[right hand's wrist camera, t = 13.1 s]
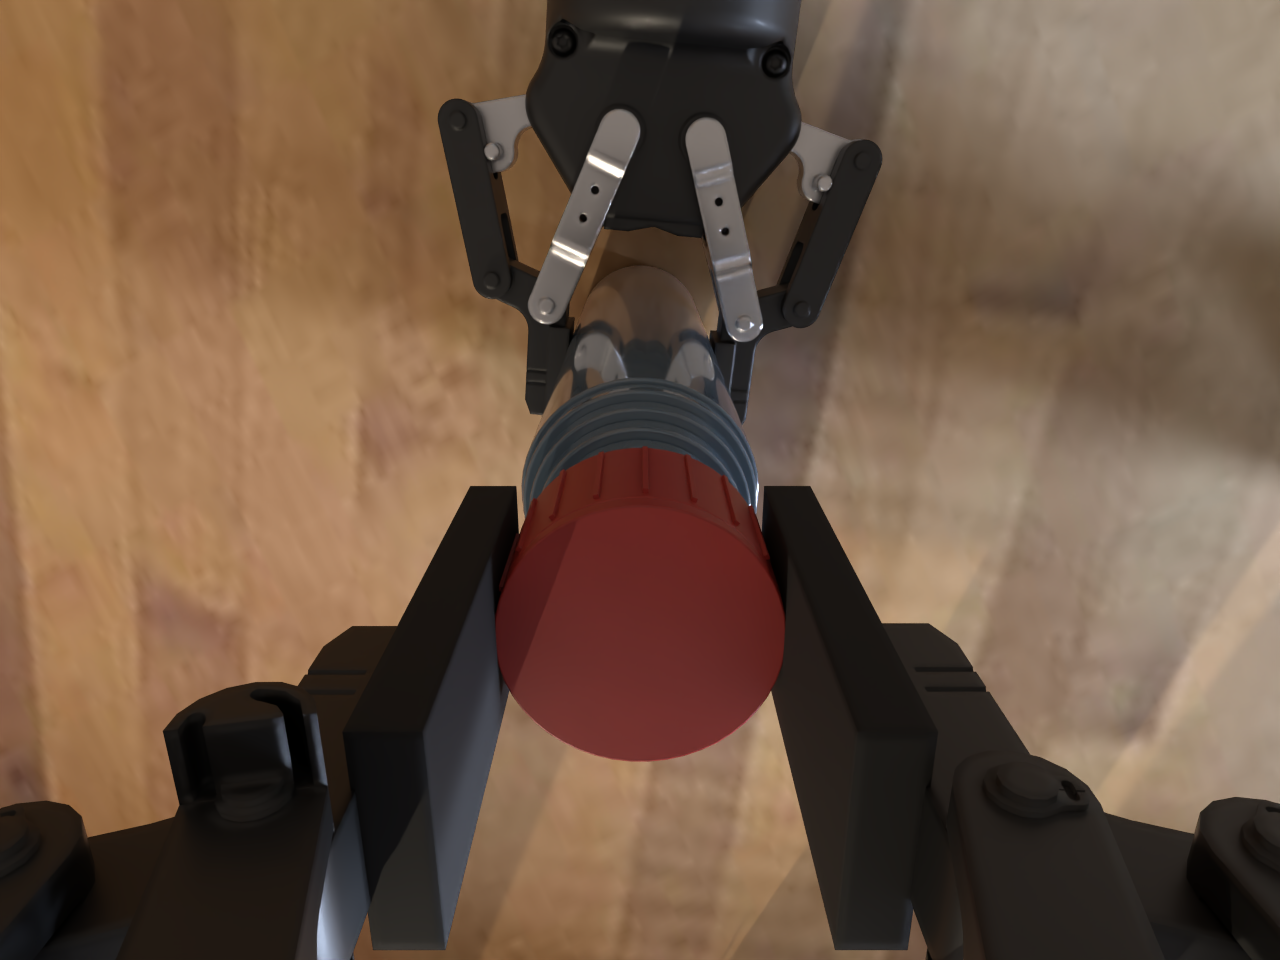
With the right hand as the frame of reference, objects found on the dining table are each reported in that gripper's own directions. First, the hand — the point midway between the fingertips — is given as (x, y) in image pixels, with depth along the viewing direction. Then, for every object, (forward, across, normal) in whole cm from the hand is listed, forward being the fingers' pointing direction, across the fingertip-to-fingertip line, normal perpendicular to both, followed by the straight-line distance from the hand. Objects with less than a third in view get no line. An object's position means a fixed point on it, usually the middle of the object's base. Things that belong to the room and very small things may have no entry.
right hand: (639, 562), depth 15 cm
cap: (-2, 0, 0) cm, 2 cm away
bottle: (+23, 0, 0) cm, 23 cm away
